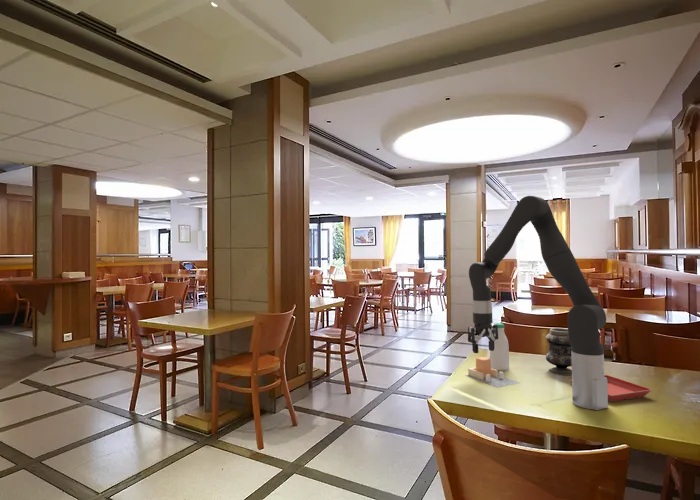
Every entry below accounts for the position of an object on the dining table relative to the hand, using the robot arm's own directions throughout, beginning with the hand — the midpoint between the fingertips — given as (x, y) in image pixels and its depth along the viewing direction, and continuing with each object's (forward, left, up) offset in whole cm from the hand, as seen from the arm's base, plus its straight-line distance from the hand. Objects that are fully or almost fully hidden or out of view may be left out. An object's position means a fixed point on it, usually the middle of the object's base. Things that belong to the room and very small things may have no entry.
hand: (483, 351), depth 160 cm
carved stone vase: (-9, -35, -11) cm, 38 cm away
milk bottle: (+6, -15, -11) cm, 20 cm away
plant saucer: (-33, -27, -12) cm, 44 cm away
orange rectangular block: (0, 0, -10) cm, 10 cm away
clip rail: (-4, 0, -11) cm, 12 cm away
